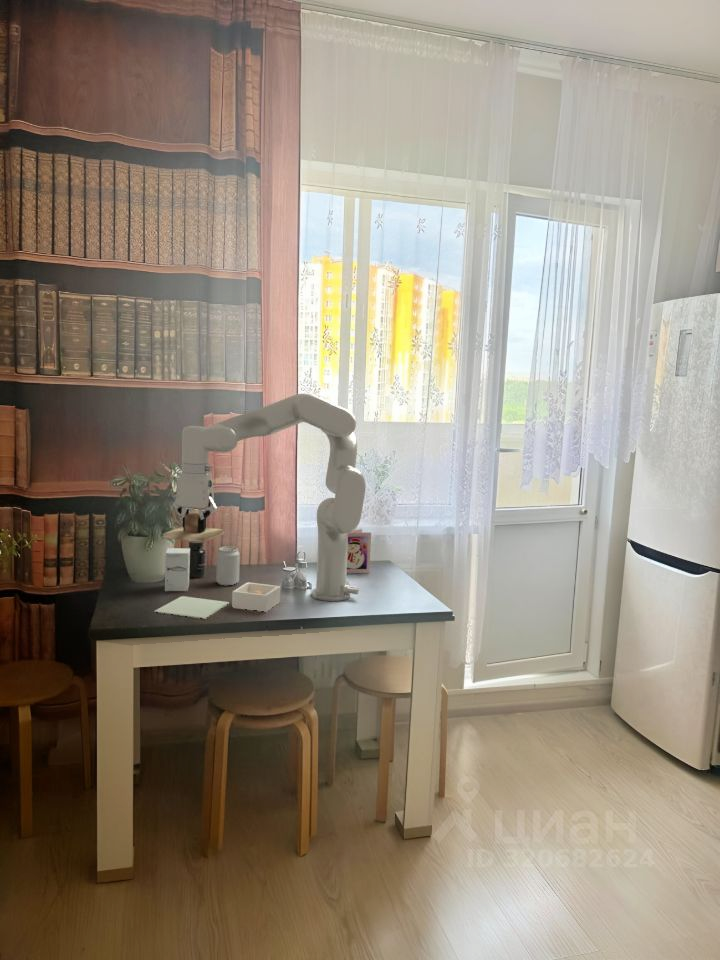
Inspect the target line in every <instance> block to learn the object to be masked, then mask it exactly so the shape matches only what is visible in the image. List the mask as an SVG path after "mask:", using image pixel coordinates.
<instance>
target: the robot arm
mask: <svg viewBox="0 0 720 960" xmlns="http://www.w3.org/2000/svg"><path fill="white" fill-rule="evenodd" d="M301 423H306V424H309V425H310V426H313V427H315V428H317V429H320V431H321V432H323V433H324V434H325V435H326V437H327V439H328V442H329V458H328V463H327V470H326V475H325V486H326V488H327V490H329V491H330V492H331V493H332V494H335V495H334V497H328V498H325V499H324V500H323V501H321V502H320V503H319V505H318V508H317V510H316V525H317V553H316V554H317V560H316V582H315V583H316V584H315V588H314V589H312V590H311V592H310V595H311V597H312V598H314V599H316V600H320V601H326V602H339V601H344V600H348V599H349V598H351V594H352V595H358V594H359V588H358V587H357V586H352V585H350V584H349V581H348V580H347V574H348V573H347V550H348V535H347V534H348V533H351V532H353V531H354V530H357V528H358V526H359V524H360V522H361V519H362V513H363V507H364V501H365V495H366V479H365V477H364V475H363V473H362V472H361V471H360V470H359V469H357V468H356V463H357V457H358V456H357V454H358V442H357V437H356V435H355V432H354V431H355V430H356V427H357V421H356V417H355V415H354V414H353V413H352V412H351V411H349V409H346V408H343V407H341V406H339V405H337V404H334V403H333V402H330V401H328V400H325V399H323V398H321V397H319V396H316V395H314V394H312V393H311V394H310V393H309V394H308V393H297V394H294V395H291V396H288V397H286V398H283V399H280V400H278V401H275V402H273V403H271V404H268V405H265V406H262V407H260V408H256V409H253V410H251V411H248V412H245V413H241V414H239V415H235V416H233V417H230V418H227V419H225V420H222V421H219V422H217V423H215V424H212V425H210V426H209V427H205V426H201V425H200V426H199V425H189V426H185V427H183V429H182V433H181V435H182V436H181V437H182V438H181V472H180V473H179V476H178V480H177V487H176V498H175V499H174V501H173V503H172V505H171V506H172V507H173V508H174V509H175V510H176V511H177V512H178V514H180V517H181V518H182V526H183V531H185V515H187V514H190V511H191V509H195V510H196V509H197V510H198V514H199V515H200V519H199V520H198V533H202V532H204V531H205V529H206V528H207V518H208V517H209V516H210V515H211V514H212V513H214V512H217V511H218V506H217V505H216V503H215V495H214V493H215V492H214V483H213V477H212V476H213V475H212V474H211V473H210V472H212V471H213V469H214V468H213V466H212V465H210V463H209V461H210V457H209V455H210V452H214V453H215V452H216V453H222V454H223V453H225V454H226V453H229V452H230V453H231V452H232V451H233V450H234V449H235V448H237V445H238V443H239V442H240V441H243V440H247V439H250V438H259V437H266V436H271V435H274V434H277V433H279V432H281V431H283V430H285V429H288V428H291V427H295V426H296V425H299V424H301ZM207 508H209V509H207Z"/></svg>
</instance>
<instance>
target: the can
mask: <svg viewBox="0 0 720 960" xmlns="http://www.w3.org/2000/svg"><path fill="white" fill-rule="evenodd" d="M240 556H241V555H240V551H239V549H238V548H237V547H235V546H222V547H221V546H220V547H219V548H218V551H217V552H216V571H215V572H216V577H215V582H217V584H218V585H220V586H223V585H224V587H225V586H226V587H229V586H228V585H232V586H235V585H237V584H238V583H239V582H240ZM236 583H237V584H236ZM234 584H235V585H234Z"/></svg>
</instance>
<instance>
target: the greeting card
mask: <svg viewBox="0 0 720 960" xmlns="http://www.w3.org/2000/svg"><path fill="white" fill-rule="evenodd" d="M347 535H348V550H347V573H346V574H370V567H371V566H370V565H371V549H372V548H371V545H372V532H368V531H367V532H363V528H358V529H355V530H354V531H353V532H351V533H348V534H347Z"/></svg>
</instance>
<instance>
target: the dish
mask: <svg viewBox="0 0 720 960" xmlns="http://www.w3.org/2000/svg"><path fill="white" fill-rule="evenodd" d="M281 587H282V586H281V585H272V584H266V583H257V582H251V581H250V582H249V581H247V582H246V583H244V584H242V585H240V586H239V587H237V588H236V589H234V590H232V595H231V608H232V607H233V608H232V609H239V610H245V609H247V610H246V611H253V610H257V611H256V612H261V611H264V612H263V613H267V612H269V611H270V610H272V609H273V608H274V607H275V606H277V605H278V604H279V603H280V602H281ZM253 591H260V592H261V593H262V594H257V593H252V592H253ZM276 604H277V605H276ZM273 606H274V607H273ZM272 607H273V608H272ZM268 610H269V611H268Z"/></svg>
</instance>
